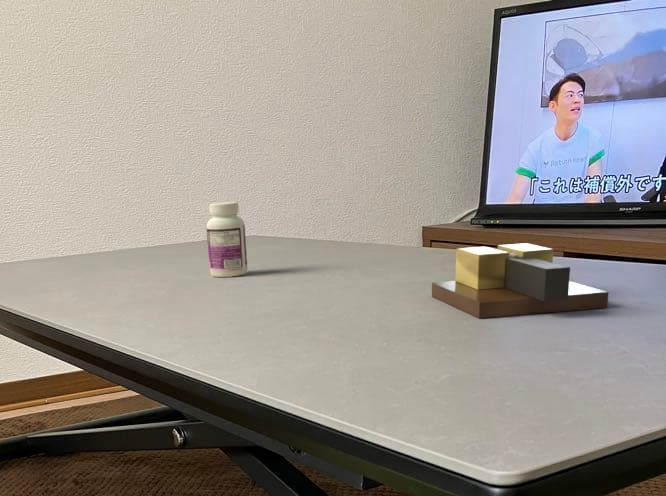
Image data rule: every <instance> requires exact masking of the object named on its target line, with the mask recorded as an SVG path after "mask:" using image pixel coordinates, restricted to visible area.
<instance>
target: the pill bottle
mask: <svg viewBox="0 0 666 496" xmlns="http://www.w3.org/2000/svg"><path fill="white" fill-rule="evenodd" d="M239 207H240V206H239V202H238V201H222V202H221V201H219V202H212V203H209V214H210V216H211V217H212V218H210V219H209V220H208V221H207V223H206V239H207V250H208V263H209V273H210V275H211V276H212V277H214V278H230V277H231V278H232V277H239V276H243V275H247V273H248V271H249V270H248V256H247V254H248V253H247V242H246V239H247V238H246V225H245V221H244V220H243V218H242V217H240V216H238V214H239V211H240V208H239Z"/></svg>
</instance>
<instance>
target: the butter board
mask: <svg viewBox="0 0 666 496" xmlns="http://www.w3.org/2000/svg"><path fill="white" fill-rule="evenodd" d="M509 253H513V254H516V255H518V257H525V256H528V257H532V258H536V259H539V260H543V261H547V262H551V263H554V262H553V260H554V248H550V247H545V246H542V245H541V246H540V245H537V244H532V243H528V242H524V243H512V244H510V243H509V244H499V245H497V248H493V247H489V246H483V245H482V246H474V247H473V246H472V247H471V246H470V247H459V248H456V249H455V278H454V280H449V281H448V280H447V281H435V282H432V283H431V297H432V298H434V299H436V300H438V301H440V302H443V303H445V304H447V305H450V306H451V307H454V308H456V309H458V310H460V311H462V312H463V313H467V314H468V315H471V316H473V317H475V318H478V319H491V318H492V319H493V318H503V317H515V316H525V315H527V316H528V315H538V314H539V315H540V314H548V313H560V312H561V313H563V312H572V311H584V310H585V311H586V310H595V309H596V310H597V309H608V302H609V293H610V292H609V291H606V290H603V289H598V288H596V287H593V286H589V285H584V284H582V283H578V282H574V281H571V280H569V290H568V300H563V301H551V302H543V301H540V300H537V299H534V298H531V297H529V296H526V295H523V294H520V293H517V292H515V291H512V290H509V289H506V288H504V280H505V259H506V258H509Z"/></svg>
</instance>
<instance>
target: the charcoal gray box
mask: <svg viewBox="0 0 666 496" xmlns="http://www.w3.org/2000/svg"><path fill="white" fill-rule="evenodd" d="M570 275H571V267H570V266H566V265H563V264H559V263H555V262H552V263H551V262H547V261H543V260H539V259H536V258H532V257H528V256H525V257H518V255H516V254H513V253H509V258H506V259H505V280H504V288H506V289H509V290H512V291H515V292H517V293H520V294H523V295H526V296H529V297H531V298H534V299H537V300H540V301H543V302H551V301H563V300H568V290H569V281H570Z"/></svg>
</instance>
